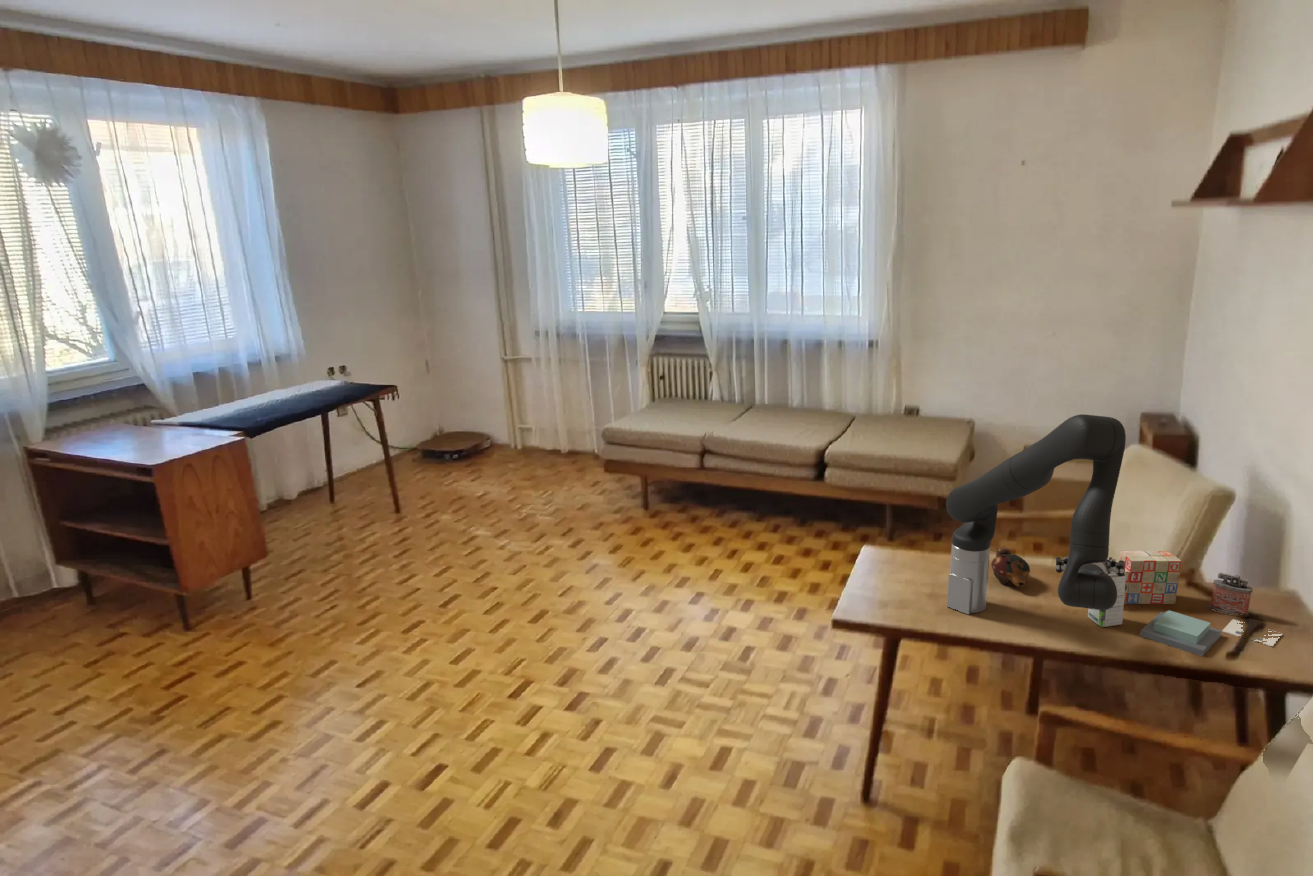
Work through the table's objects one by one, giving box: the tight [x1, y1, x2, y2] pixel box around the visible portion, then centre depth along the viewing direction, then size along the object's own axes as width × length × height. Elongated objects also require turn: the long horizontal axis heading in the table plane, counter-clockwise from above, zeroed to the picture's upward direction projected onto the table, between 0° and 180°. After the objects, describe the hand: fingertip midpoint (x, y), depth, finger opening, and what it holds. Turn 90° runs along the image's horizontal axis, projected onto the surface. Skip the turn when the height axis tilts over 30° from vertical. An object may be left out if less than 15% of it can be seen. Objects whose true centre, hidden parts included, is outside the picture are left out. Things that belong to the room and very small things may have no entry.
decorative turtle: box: [991, 546, 1031, 588], centre depth 223 cm, size 10×15×8 cm, turn 5°
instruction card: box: [1222, 618, 1283, 647], centre depth 193 cm, size 8×10×1 cm
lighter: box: [1209, 572, 1254, 615], centre depth 201 cm, size 8×3×10 cm, turn 47°
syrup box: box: [1087, 571, 1126, 628], centre depth 199 cm, size 6×6×14 cm
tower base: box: [1139, 609, 1223, 657], centre depth 192 cm, size 13×13×4 cm
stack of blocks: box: [1118, 550, 1182, 605], centre depth 210 cm, size 21×6×12 cm, turn 86°
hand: (1090, 560), depth 193 cm, fingers open, 8 cm apart
